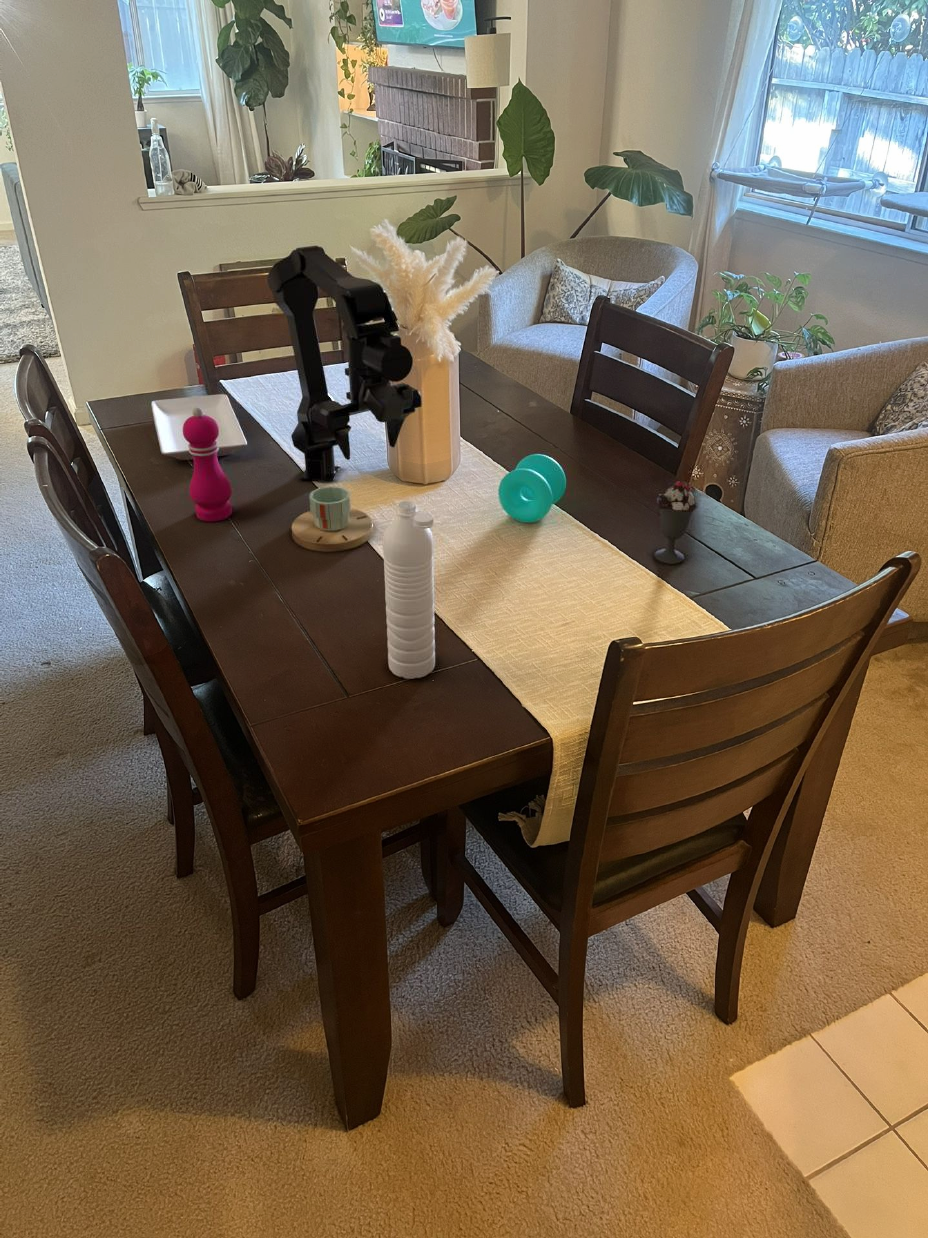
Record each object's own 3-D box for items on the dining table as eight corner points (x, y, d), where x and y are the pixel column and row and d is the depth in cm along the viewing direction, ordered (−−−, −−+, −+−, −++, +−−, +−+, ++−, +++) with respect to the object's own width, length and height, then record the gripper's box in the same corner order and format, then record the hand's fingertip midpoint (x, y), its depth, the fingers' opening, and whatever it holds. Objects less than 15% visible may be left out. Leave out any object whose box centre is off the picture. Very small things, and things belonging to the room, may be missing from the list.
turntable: (304, 511, 167) (303, 503, 166) (380, 516, 166) (379, 508, 165) (282, 548, 155) (281, 540, 154) (363, 554, 154) (363, 545, 153)
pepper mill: (222, 525, 162) (205, 416, 151) (186, 520, 164) (166, 412, 153) (241, 507, 168) (226, 402, 157) (206, 503, 170) (188, 398, 159)
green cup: (337, 510, 164) (335, 482, 160) (359, 525, 159) (357, 496, 156) (304, 521, 160) (301, 492, 157) (325, 536, 155) (323, 507, 152)
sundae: (691, 550, 156) (705, 469, 148) (686, 569, 150) (700, 485, 142) (652, 544, 158) (664, 463, 149) (646, 562, 152) (657, 479, 144)
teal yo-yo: (494, 518, 165) (496, 467, 160) (516, 497, 173) (518, 447, 167) (546, 530, 162) (550, 478, 156) (566, 507, 169) (570, 457, 164)
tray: (228, 406, 211) (226, 391, 209) (249, 458, 187) (247, 442, 185) (152, 414, 206) (149, 399, 204) (164, 469, 182) (161, 453, 180)
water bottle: (380, 660, 129) (371, 499, 115) (421, 647, 131) (417, 488, 118) (409, 694, 122) (404, 527, 109) (451, 679, 125) (451, 515, 111)
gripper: (342, 389, 141) (348, 482, 150) (440, 366, 150) (440, 455, 159) (306, 370, 148) (314, 459, 157) (402, 349, 158) (404, 435, 166)
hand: (370, 452), depth 160 cm, fingers open, 9 cm apart
